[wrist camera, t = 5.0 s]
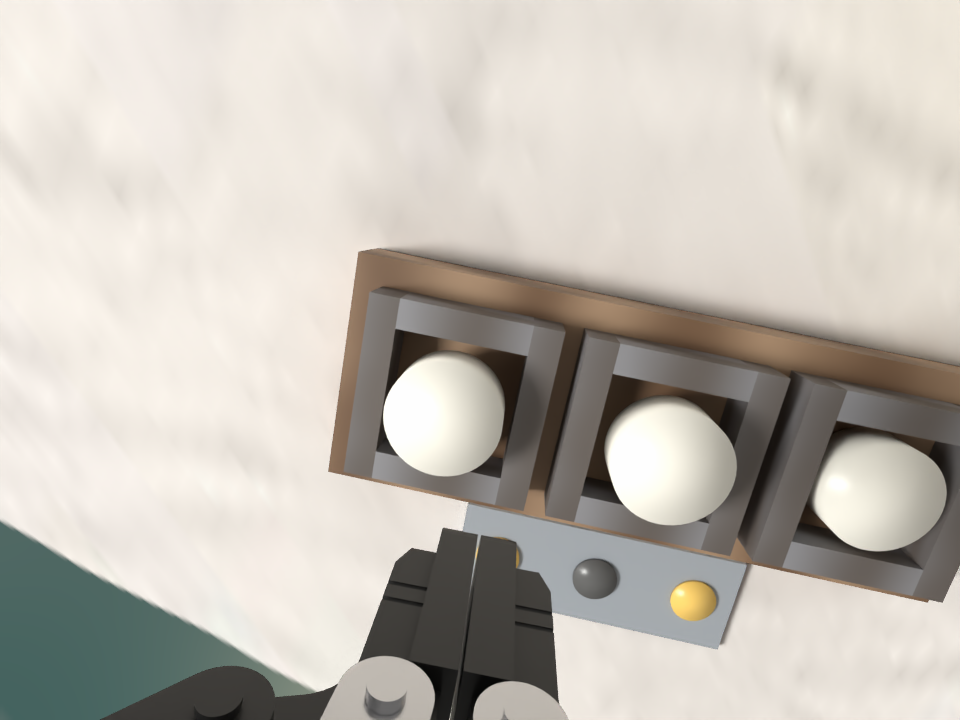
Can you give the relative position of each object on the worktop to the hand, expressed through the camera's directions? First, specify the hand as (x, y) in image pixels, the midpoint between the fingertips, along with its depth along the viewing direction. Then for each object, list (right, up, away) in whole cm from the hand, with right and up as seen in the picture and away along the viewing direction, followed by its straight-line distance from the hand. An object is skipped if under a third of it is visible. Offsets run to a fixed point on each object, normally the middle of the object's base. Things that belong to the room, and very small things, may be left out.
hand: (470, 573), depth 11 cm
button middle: (+7, +1, +11) cm, 13 cm away
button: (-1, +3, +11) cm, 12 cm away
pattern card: (+6, -7, +18) cm, 20 cm away
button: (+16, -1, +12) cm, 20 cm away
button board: (+8, +2, +16) cm, 18 cm away
